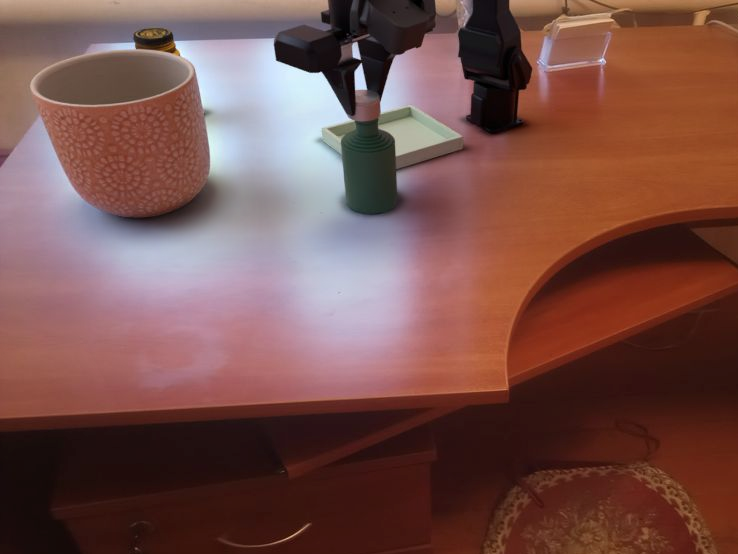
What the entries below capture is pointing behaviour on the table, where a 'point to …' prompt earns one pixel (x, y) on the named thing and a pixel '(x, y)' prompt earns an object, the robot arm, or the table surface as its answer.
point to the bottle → (369, 168)
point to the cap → (366, 106)
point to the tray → (405, 135)
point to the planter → (127, 129)
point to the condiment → (155, 40)
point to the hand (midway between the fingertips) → (363, 109)
